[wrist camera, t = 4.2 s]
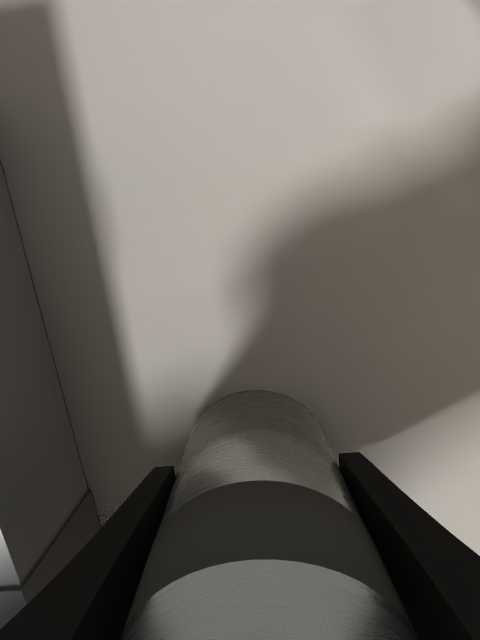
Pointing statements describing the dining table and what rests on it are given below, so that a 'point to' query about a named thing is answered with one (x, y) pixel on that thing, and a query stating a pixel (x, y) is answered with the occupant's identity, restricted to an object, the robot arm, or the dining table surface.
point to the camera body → (33, 441)
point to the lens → (263, 538)
